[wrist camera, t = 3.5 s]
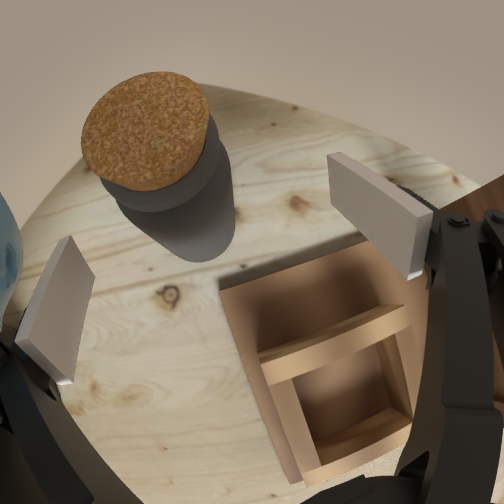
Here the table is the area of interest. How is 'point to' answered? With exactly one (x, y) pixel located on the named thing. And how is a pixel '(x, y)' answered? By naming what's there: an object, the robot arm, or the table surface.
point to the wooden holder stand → (341, 352)
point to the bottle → (164, 163)
